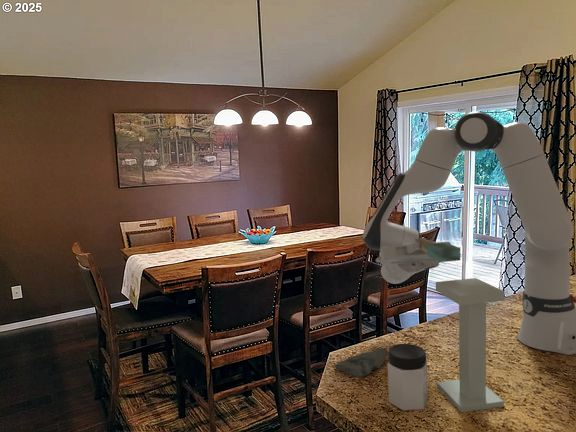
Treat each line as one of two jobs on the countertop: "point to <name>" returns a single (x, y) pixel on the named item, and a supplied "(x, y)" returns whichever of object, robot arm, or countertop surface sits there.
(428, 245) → the mallet
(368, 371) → the stone
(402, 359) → the jar
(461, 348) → the shelf stand
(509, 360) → the countertop surface
